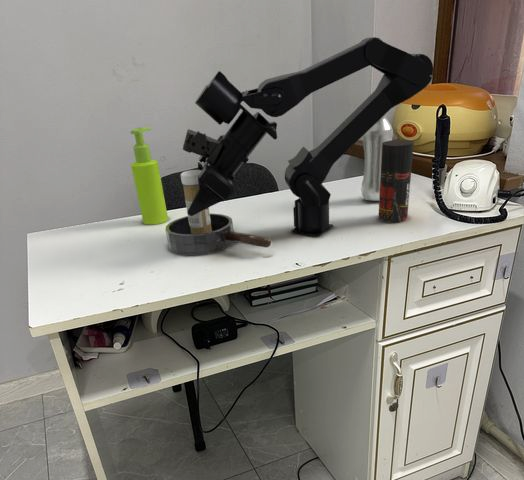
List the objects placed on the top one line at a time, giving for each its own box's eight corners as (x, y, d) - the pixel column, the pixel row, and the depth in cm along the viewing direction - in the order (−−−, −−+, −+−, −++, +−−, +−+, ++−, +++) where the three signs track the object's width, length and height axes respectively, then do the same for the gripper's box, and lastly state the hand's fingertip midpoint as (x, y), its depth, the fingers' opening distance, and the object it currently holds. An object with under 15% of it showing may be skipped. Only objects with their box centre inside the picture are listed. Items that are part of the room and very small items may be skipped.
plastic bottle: (392, 202, 112) (398, 106, 101) (363, 204, 112) (366, 109, 102) (386, 195, 118) (392, 103, 107) (358, 197, 118) (361, 105, 107)
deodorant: (379, 213, 106) (383, 140, 98) (407, 214, 105) (414, 139, 97) (377, 222, 101) (381, 146, 93) (406, 223, 100) (413, 145, 92)
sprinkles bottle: (218, 238, 99) (209, 170, 92) (200, 245, 96) (189, 176, 89) (204, 234, 102) (194, 168, 95) (186, 241, 99) (175, 173, 92)
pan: (232, 228, 106) (230, 210, 103) (236, 250, 94) (234, 230, 92) (170, 235, 105) (167, 217, 103) (167, 259, 94) (163, 239, 91)
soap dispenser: (174, 215, 117) (158, 125, 106) (160, 225, 112) (142, 131, 101) (153, 214, 119) (135, 126, 108) (138, 224, 114) (118, 131, 103)
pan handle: (274, 245, 90) (273, 236, 89) (267, 249, 89) (266, 240, 88) (226, 237, 96) (225, 228, 95) (219, 240, 95) (218, 232, 94)
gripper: (203, 106, 95) (157, 170, 100) (204, 118, 79) (150, 194, 84) (247, 144, 99) (201, 204, 105) (257, 163, 84) (202, 233, 89)
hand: (189, 208), depth 96 cm, fingers open, 8 cm apart
